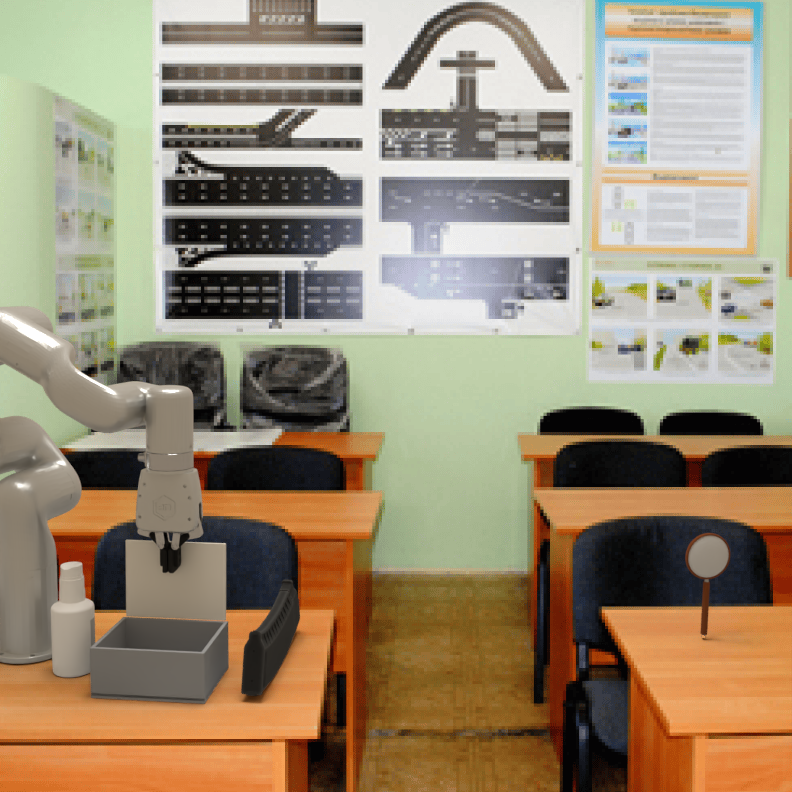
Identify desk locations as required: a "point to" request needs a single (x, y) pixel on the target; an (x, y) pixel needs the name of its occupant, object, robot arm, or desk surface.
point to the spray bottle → (72, 624)
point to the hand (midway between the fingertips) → (170, 570)
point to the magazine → (270, 641)
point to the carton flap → (176, 582)
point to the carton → (159, 660)
